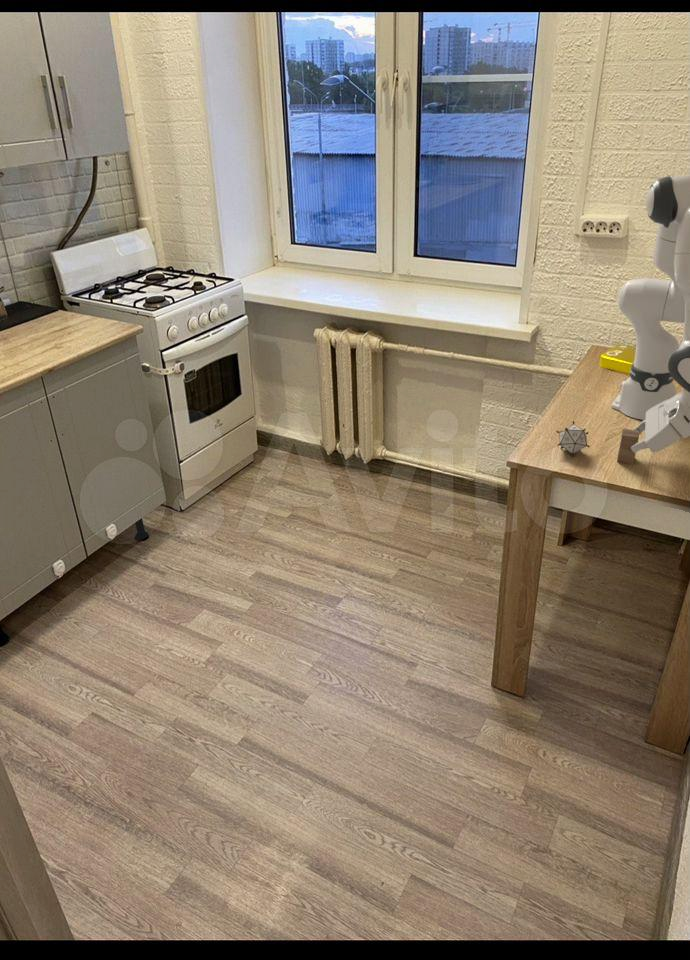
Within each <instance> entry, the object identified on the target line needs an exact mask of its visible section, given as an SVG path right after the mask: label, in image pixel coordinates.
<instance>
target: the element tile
mask: <svg viewBox="0 0 690 960" xmlns="http://www.w3.org/2000/svg"><path fill="white" fill-rule="evenodd" d="M635 353H636V347H633V346H627V345H625V344H624V345H623V344H617V345H615V346H613V347H612V348H610V349H608V350H607V351H604V352H603V353H601V354H600V358H599V363H598V365H599V367H600V368H603V369H607V370H611V371H614V372H618V373H623V374H626V375H629V376H630V369H631V367H632V364H633V363H634V359H635Z"/></svg>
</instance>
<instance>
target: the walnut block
mask: <svg viewBox="0 0 690 960" xmlns="http://www.w3.org/2000/svg"><path fill="white" fill-rule="evenodd" d="M621 432H622V433H621V439H620V441H619V442H620V443H619V447H618V448H619V449H618V451H617V452H618V453H617V461H616V462H617V463H620V462H621V464H628V465H634V463H635V457H636V453H637V452H633V451H632V450H631V445H632V444H634V443H636V442H637V443H638V442H639V438H640V435H639V431H638V430H633V429H630V428H622V431H621Z"/></svg>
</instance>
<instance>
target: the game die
mask: <svg viewBox="0 0 690 960" xmlns="http://www.w3.org/2000/svg"><path fill="white" fill-rule="evenodd" d="M586 430H587V429H586V428H584V429H583V428H581V427H579V426H578V425H576V424H575V421H574V420H573V421H572V424H570V425H569V426H567V427H565V428H564V429H562V430H560V431H559V430H556V433H558V437H559V438H558V441H559V443H557V446H558V447H559V446H560V449H561V450H563V449H564V450H566V452H568V453H569V454H571V456H570V457H571V458H573V457H574V454H575V453H578V452H579V451H581V450H582V449H584V448H586V447H587V448H591V446H590V445H588V440H587V439H588V438H587V435H589V433H590V432H588V431H587V432H586Z"/></svg>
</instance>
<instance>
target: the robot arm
mask: <svg viewBox="0 0 690 960" xmlns="http://www.w3.org/2000/svg"><path fill="white" fill-rule="evenodd" d="M645 207H646V212H647V215H648V218H649V219H650V220H651V221H652V222H653V223H656V224H658V226H657V230H656V231H657V232H656V236H655V243H654V248H653V255H652V260H653V263H654V265H655V266H656V268H657V269H658V270H659V271H661V272H662V273H664V274H666V276H668V277H669V278H670V279H671V280H668V279H661V278H659V279H658V278H651V277H650V278H649V277H645V278H644V277H643V278H635V279H634V278H633V279H628V281H626V282H625V283H624V284H623V285H622V286H621V288H620V290H619V292H618V295H617V305H618V308H619V311H620V312H621V313H622V314H623V315H624V316H626V318H627V319H628V321H629V322H630V323H631V325H632V327H633V329H634V332H635V336H636V337H635V338H636V343H635V344H636V345H635V346H636V347H635V348H636V353H635V359H634V363H633V364H632V367H631V369H630V375H629V377H628V378H627V379H626V380H622V382H621V385H620V388H621V391H620V392H619V394H618V395H617V396H616V398H615V399H614V400H613V401H612V404H611V408H612V409H615V410H617V411H619V412H620V413H622V414H624V415H625V416H628V417H631V418H632V419H637V420H642V421H641V422H640V423H639V424H638V425H637V426H635V427H634V428H632V430H638V431H639V436H640V435H642V433H643V432H644V438H643V439H641V441H638V443H637V442H636V443H634V444H632V445H631V450H632V451H633V452H636V453H638V452H639V451H641V450H645V449H649V451H651V453H656V452H660V451H662V450H664V449H666V448H668V447H669V446H672V445H674V444H676V443H677V442H678V441H679V440H681V438H682V439H687V438H688V437H689V438H690V174H689V173H687V174H682V175H681V174H680V175H676V176H675V175H674V176H672V177H671V176H668V175H667V176H665V177H661V178H658V179H656V180H654V181H653V182H652V184H650V187H649V190H648V192H647V195H646V200H645ZM661 322H669V323H679V324H684V325H683V327H684V328H683V337H682V340H681V343H680V344H679V341H678V339H677V338H676V336H674V335H673V334H672V333H671V332H669V331H667V330H666V329H665V328H664V327H663V326H662V324H661ZM674 381H675V382H676V383H677V384H678V385H679V386H680V387H682V388H683V390H681V391H679V392H678V393H677V390H678V389H677V387H676V385H674V383H673V382H674Z"/></svg>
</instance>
